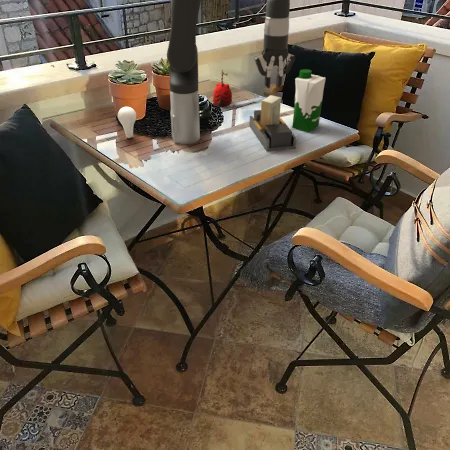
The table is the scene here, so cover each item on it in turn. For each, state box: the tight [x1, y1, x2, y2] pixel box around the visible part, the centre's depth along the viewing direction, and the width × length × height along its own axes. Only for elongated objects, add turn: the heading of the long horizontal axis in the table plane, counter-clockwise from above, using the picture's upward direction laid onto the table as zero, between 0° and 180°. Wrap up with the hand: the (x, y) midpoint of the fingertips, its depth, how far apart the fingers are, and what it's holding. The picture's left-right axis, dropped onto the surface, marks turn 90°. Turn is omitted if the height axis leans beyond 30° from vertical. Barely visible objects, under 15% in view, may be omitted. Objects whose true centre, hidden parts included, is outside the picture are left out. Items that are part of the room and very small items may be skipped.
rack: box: [248, 109, 297, 152], centre depth 163 cm, size 10×21×6 cm, turn 13°
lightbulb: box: [117, 106, 137, 139], centre depth 160 cm, size 6×6×11 cm
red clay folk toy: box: [212, 69, 233, 108], centre depth 185 cm, size 8×7×15 cm
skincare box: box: [260, 94, 282, 132], centre depth 161 cm, size 6×4×12 cm
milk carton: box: [291, 68, 326, 133], centre depth 165 cm, size 9×9×20 cm
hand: (272, 87), depth 156 cm, fingers open, 3 cm apart
